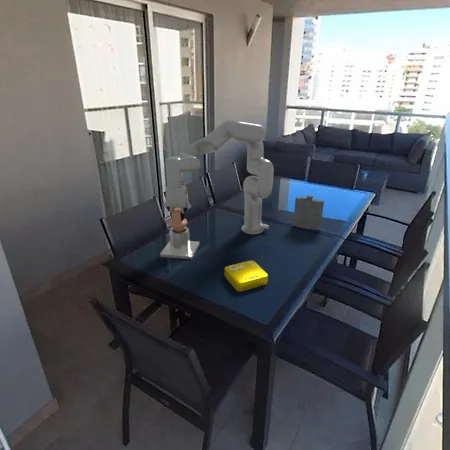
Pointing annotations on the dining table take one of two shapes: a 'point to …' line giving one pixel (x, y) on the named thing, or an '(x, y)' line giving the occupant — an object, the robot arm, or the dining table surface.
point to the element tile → (246, 275)
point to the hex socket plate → (180, 245)
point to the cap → (177, 220)
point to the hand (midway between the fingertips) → (178, 219)
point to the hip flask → (308, 213)
